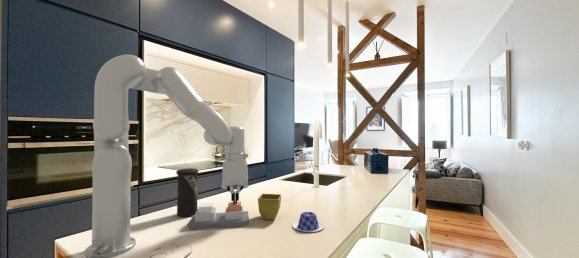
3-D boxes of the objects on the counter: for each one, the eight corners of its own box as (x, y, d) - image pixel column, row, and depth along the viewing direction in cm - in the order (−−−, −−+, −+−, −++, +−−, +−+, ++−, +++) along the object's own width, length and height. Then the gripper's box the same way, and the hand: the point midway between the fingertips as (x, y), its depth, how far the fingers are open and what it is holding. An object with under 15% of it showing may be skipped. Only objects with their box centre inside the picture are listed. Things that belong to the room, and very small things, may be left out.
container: (193, 217, 104) (193, 170, 105) (172, 217, 105) (172, 169, 105) (201, 211, 113) (201, 167, 114) (181, 211, 113) (182, 167, 114)
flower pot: (281, 214, 109) (281, 194, 109) (278, 221, 100) (278, 199, 100) (261, 214, 110) (261, 193, 110) (257, 221, 101) (257, 198, 101)
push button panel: (248, 226, 95) (249, 212, 95) (188, 230, 91) (188, 216, 91) (248, 215, 107) (248, 204, 107) (194, 219, 103) (194, 207, 103)
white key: (211, 214, 96) (212, 206, 96) (198, 215, 95) (198, 207, 95) (213, 210, 101) (213, 202, 101) (200, 211, 100) (200, 203, 100)
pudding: (323, 235, 88) (323, 220, 88) (290, 232, 90) (290, 218, 90) (324, 222, 100) (324, 209, 100) (294, 221, 102) (294, 208, 102)
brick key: (240, 212, 98) (241, 204, 98) (227, 213, 97) (228, 205, 97) (240, 208, 103) (241, 201, 103) (228, 209, 102) (228, 202, 102)
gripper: (253, 155, 106) (253, 199, 106) (216, 156, 103) (216, 201, 103) (254, 157, 98) (254, 204, 98) (214, 158, 96) (214, 206, 95)
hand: (235, 202), depth 100 cm, fingers closed
